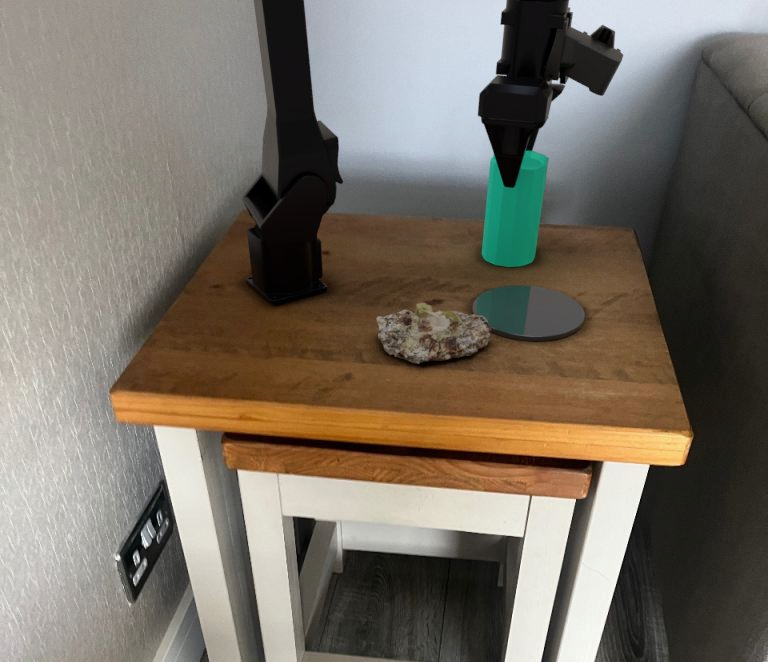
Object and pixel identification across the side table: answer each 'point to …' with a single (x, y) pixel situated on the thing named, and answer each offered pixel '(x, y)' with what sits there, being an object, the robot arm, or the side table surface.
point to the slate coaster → (529, 313)
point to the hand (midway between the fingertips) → (517, 172)
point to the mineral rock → (432, 334)
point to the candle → (514, 213)
